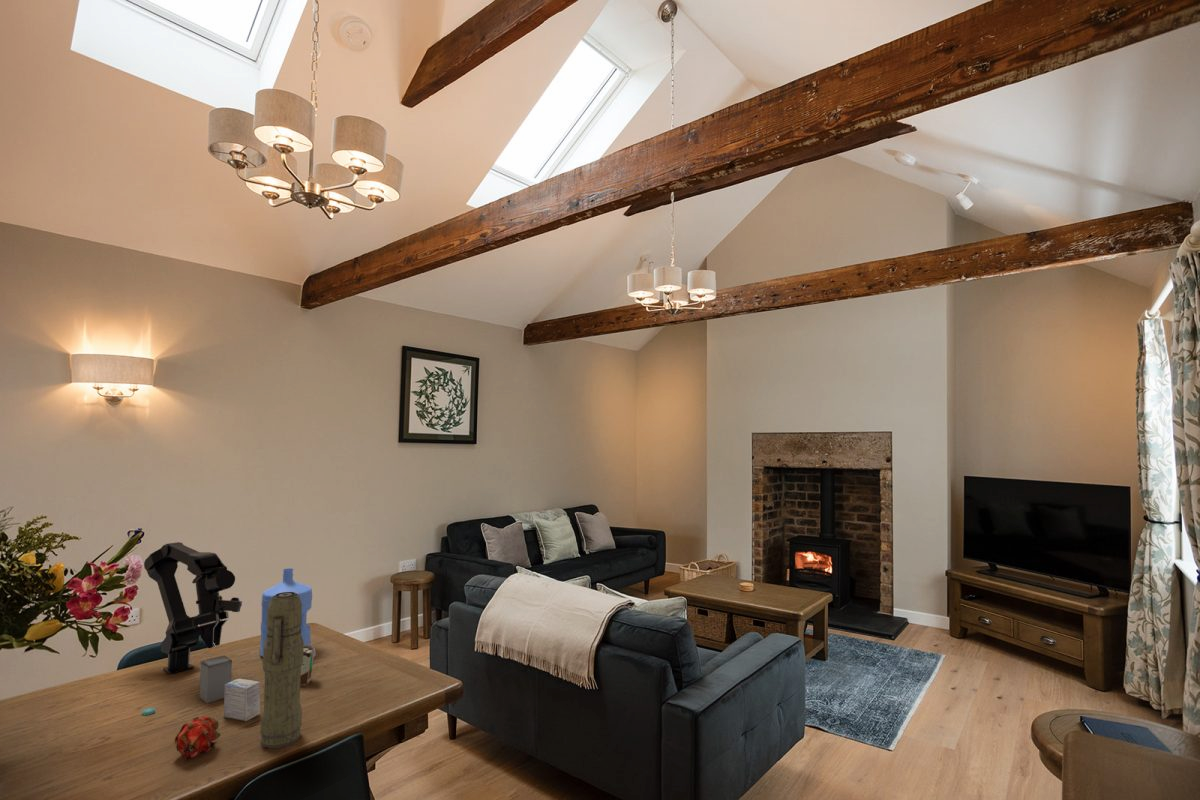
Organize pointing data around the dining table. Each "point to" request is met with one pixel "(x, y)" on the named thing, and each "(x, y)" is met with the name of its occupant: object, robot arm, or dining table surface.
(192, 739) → the dragon fruit
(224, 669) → the grey bordered box
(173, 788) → the dining table surface
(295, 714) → the thermos
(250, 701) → the medicine box
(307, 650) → the food container
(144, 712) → the teal rounded object
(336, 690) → the dining table surface
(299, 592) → the water jug
